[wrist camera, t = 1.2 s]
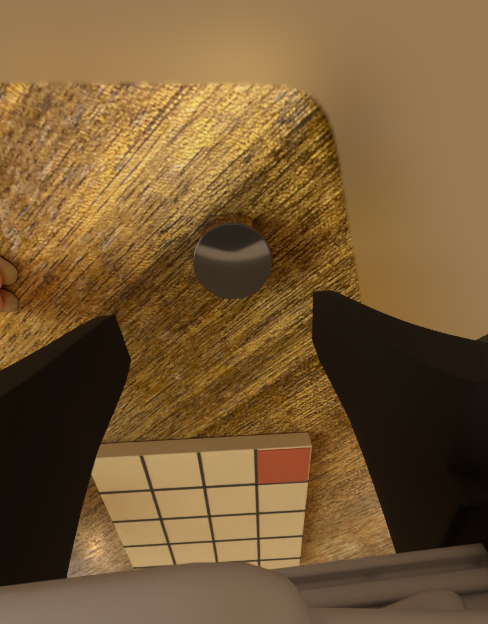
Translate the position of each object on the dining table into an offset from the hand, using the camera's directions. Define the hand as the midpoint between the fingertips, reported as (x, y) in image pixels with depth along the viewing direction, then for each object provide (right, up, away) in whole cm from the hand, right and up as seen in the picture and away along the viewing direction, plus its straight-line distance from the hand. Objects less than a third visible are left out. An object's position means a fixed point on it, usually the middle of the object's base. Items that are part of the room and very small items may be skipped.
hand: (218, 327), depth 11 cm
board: (-3, -22, +22) cm, 31 cm away
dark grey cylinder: (0, +5, +8) cm, 9 cm away
